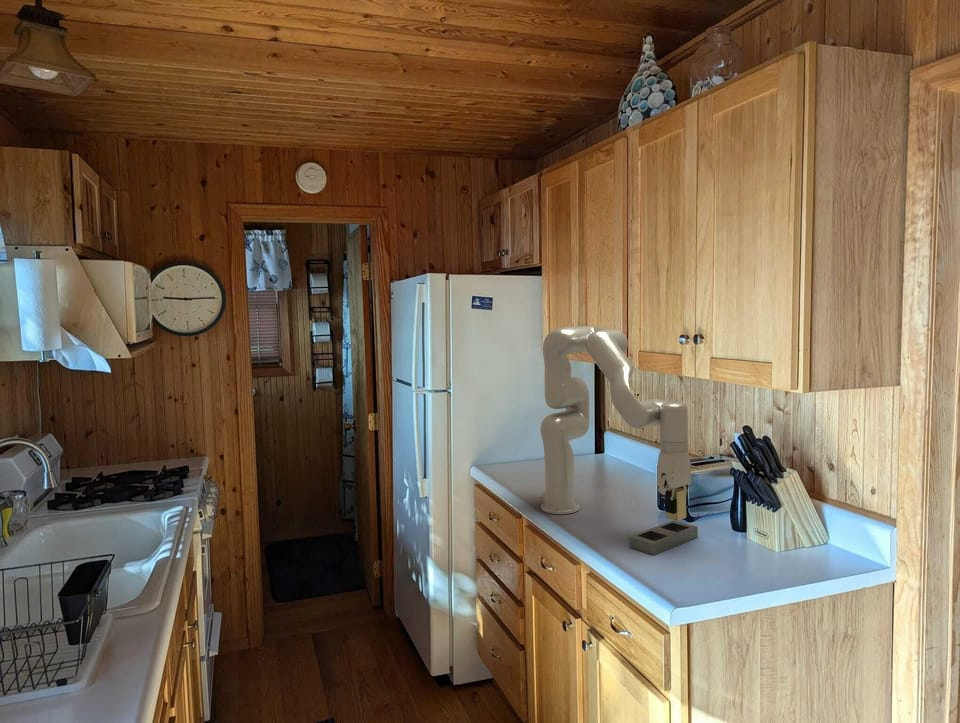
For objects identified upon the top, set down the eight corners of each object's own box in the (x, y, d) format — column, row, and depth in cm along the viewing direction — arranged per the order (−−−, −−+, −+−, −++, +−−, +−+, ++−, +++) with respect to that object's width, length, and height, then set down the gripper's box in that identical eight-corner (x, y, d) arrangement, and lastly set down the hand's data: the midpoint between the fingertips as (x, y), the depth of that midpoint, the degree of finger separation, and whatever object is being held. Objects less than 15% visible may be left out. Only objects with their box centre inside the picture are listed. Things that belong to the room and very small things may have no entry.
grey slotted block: (629, 547, 185) (629, 536, 185) (673, 530, 198) (673, 520, 197) (653, 555, 179) (653, 544, 179) (697, 537, 191) (697, 526, 191)
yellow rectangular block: (665, 517, 191) (664, 489, 190) (674, 514, 193) (673, 487, 193) (677, 520, 188) (677, 492, 187) (686, 517, 190) (685, 489, 190)
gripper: (680, 440, 197) (681, 502, 199) (644, 449, 187) (646, 514, 188) (703, 443, 191) (704, 507, 193) (667, 453, 181) (668, 520, 182)
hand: (675, 510), depth 190 cm, fingers closed on yellow rectangular block, 4 cm apart
